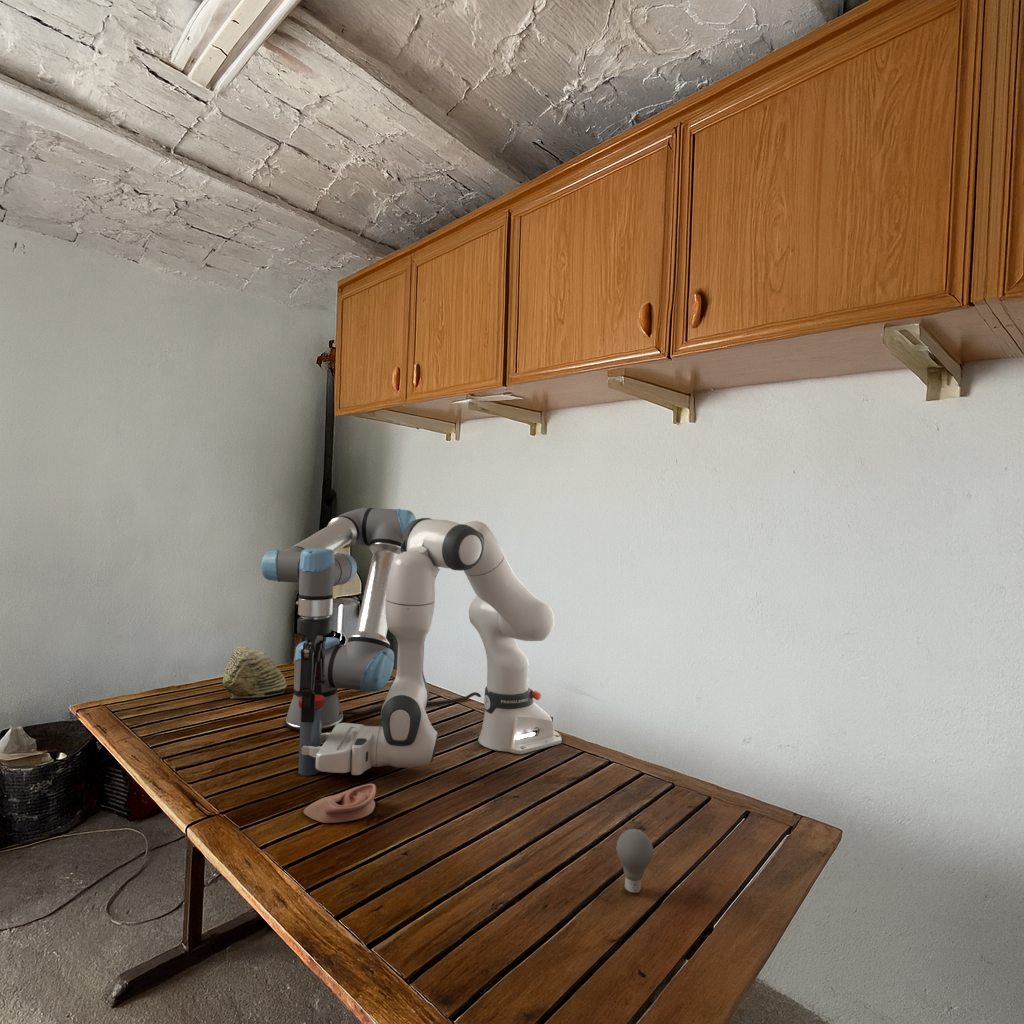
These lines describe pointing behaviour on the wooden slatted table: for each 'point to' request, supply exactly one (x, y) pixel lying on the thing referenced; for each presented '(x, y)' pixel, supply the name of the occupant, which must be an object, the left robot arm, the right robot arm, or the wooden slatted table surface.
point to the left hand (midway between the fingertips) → (311, 716)
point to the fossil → (252, 674)
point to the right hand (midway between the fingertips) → (306, 744)
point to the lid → (318, 701)
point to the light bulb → (634, 857)
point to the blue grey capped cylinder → (309, 743)
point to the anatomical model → (343, 805)
